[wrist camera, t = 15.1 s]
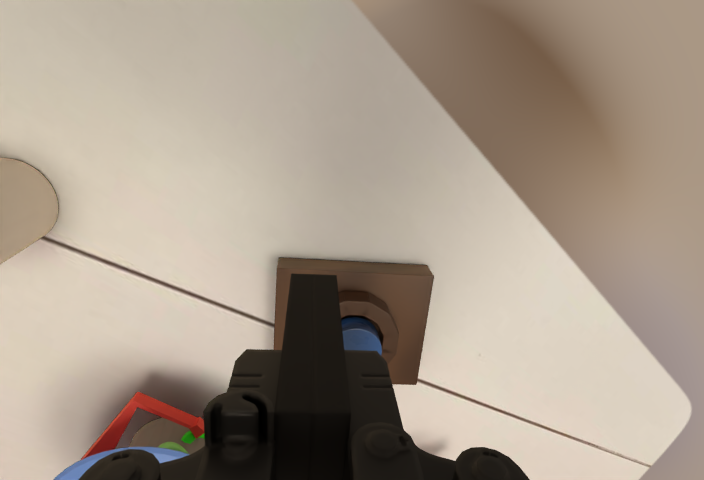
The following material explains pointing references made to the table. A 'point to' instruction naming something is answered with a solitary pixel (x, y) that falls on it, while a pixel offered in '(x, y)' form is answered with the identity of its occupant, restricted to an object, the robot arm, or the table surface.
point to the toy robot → (145, 435)
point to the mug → (24, 207)
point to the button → (360, 335)
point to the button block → (372, 305)
